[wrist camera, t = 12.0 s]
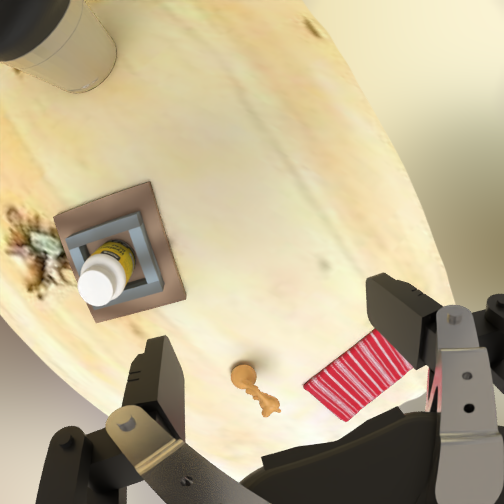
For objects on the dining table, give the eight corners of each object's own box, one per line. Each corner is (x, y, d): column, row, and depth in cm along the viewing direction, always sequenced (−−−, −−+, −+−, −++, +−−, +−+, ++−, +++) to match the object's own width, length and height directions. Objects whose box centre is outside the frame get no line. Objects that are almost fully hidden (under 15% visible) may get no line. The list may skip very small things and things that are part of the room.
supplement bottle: (135, 237, 37) (117, 264, 27) (138, 278, 38) (123, 314, 29) (95, 238, 36) (68, 263, 26) (99, 277, 37) (76, 312, 28)
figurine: (216, 360, 46) (224, 415, 34) (247, 340, 46) (263, 392, 34) (246, 388, 49) (260, 441, 37) (275, 370, 48) (296, 421, 37)
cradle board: (57, 214, 35) (45, 221, 31) (150, 181, 36) (145, 184, 33) (98, 318, 40) (91, 332, 37) (186, 294, 42) (185, 308, 38)
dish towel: (426, 349, 56) (433, 355, 53) (339, 418, 57) (344, 426, 54) (403, 299, 50) (411, 305, 47) (299, 382, 51) (304, 391, 48)
